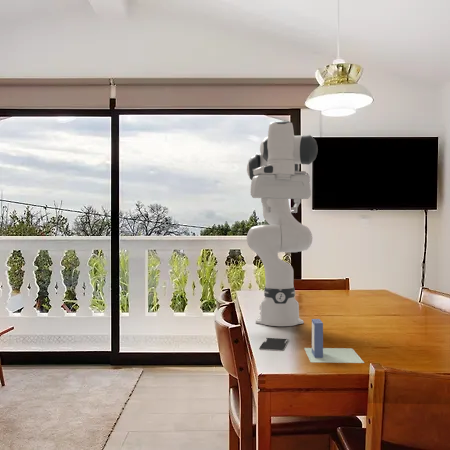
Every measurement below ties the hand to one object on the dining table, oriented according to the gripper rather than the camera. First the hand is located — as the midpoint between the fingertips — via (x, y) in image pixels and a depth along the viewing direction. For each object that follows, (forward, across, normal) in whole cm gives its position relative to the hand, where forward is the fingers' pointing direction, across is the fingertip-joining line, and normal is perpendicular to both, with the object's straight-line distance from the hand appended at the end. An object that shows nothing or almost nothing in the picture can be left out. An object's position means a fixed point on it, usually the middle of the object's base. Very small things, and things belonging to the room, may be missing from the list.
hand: (281, 212), depth 160 cm
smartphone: (+44, +2, 0) cm, 44 cm away
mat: (+43, -9, +17) cm, 47 cm away
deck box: (+43, -4, +15) cm, 46 cm away
